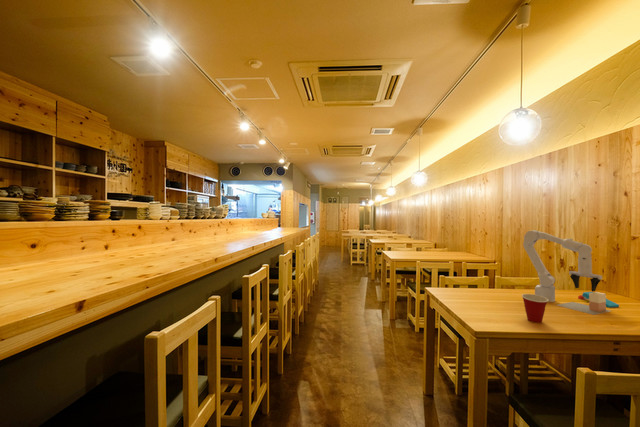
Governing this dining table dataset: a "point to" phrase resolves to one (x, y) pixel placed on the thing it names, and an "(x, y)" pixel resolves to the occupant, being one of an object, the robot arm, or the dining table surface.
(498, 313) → the dining table surface
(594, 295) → the cream brick
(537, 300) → the plastic cup
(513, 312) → the dining table surface
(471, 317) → the dining table surface
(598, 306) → the terracotta base brick
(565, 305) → the slate baseplate
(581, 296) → the teal bar
